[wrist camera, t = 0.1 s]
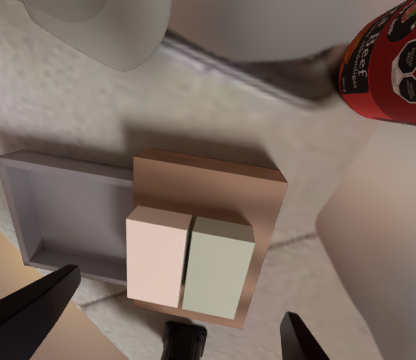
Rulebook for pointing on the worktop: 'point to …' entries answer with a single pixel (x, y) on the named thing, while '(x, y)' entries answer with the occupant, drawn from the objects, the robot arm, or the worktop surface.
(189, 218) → the cream tile
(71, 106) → the worktop surface
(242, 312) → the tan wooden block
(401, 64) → the canned food
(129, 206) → the box
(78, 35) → the air freshener
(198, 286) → the sage tile
